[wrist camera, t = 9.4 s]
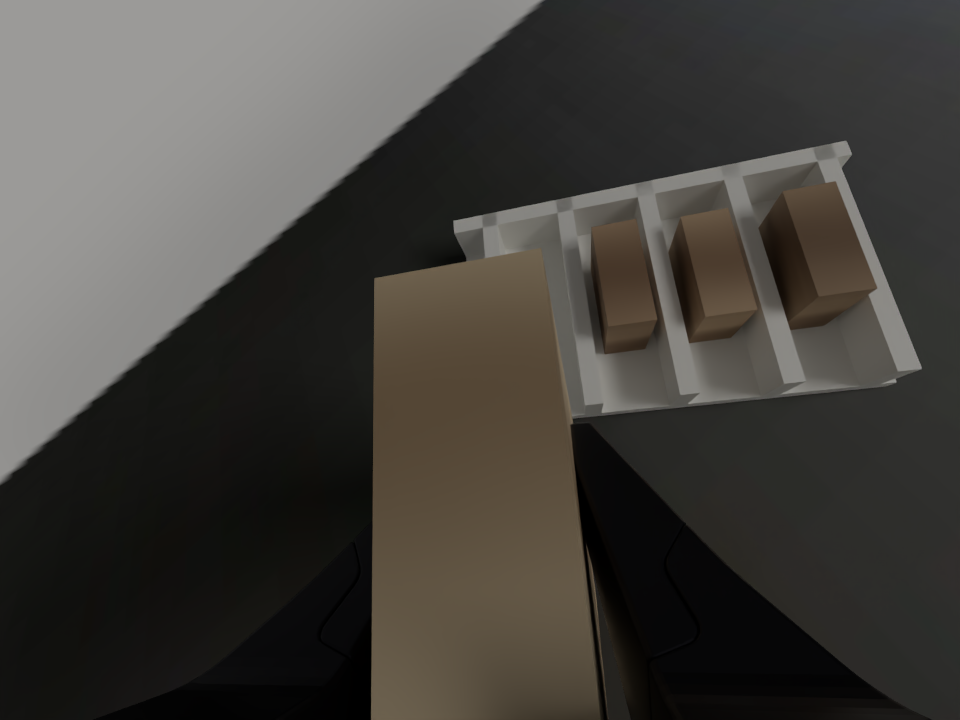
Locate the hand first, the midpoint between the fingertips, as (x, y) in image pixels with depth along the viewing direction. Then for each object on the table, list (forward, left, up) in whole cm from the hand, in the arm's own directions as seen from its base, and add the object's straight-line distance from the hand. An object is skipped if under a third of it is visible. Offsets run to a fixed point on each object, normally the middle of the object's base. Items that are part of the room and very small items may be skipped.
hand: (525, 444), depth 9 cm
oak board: (-1, -1, -7) cm, 7 cm away
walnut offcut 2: (+11, -3, -13) cm, 17 cm away
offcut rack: (+10, -1, -13) cm, 17 cm away
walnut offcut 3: (+13, -6, -13) cm, 19 cm away
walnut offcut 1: (+9, +1, -13) cm, 16 cm away
